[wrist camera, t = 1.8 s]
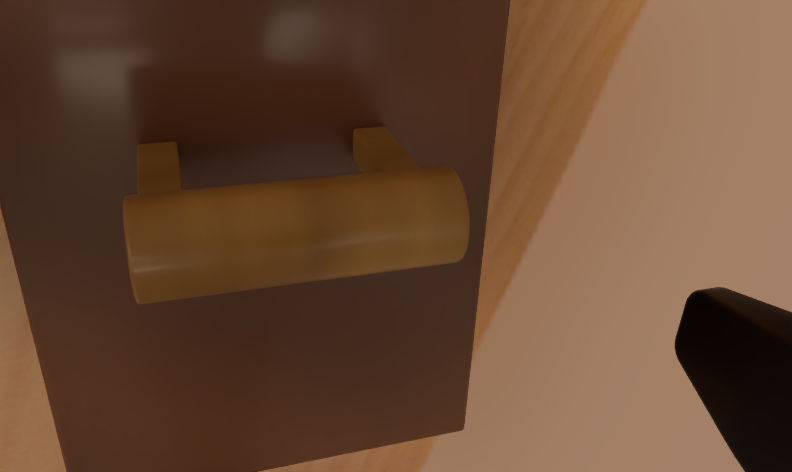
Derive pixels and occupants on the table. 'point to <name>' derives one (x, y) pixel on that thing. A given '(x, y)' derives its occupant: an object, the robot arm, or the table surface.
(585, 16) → the table surface
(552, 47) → the table surface
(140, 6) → the lid
